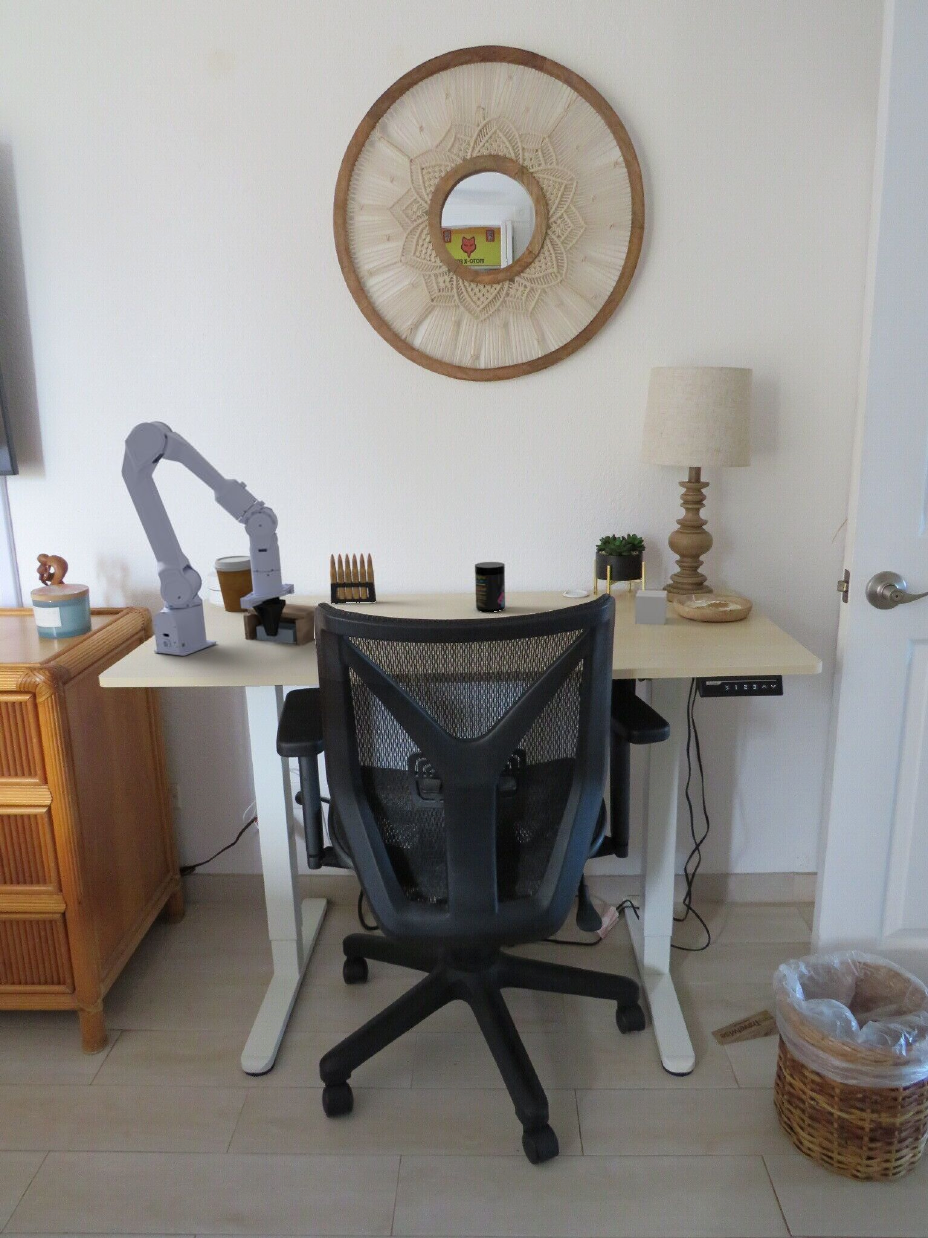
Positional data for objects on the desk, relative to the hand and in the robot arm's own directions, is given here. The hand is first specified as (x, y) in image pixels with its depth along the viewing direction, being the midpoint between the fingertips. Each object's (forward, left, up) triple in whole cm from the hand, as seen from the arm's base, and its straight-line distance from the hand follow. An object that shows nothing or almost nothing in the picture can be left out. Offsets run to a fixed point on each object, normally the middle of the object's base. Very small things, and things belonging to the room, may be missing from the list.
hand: (271, 635), depth 173 cm
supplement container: (+39, -31, -2) cm, 50 cm away
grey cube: (+41, -67, -2) cm, 79 cm away
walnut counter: (+4, 0, -1) cm, 4 cm away
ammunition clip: (+35, +3, -2) cm, 35 cm away
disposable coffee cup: (+21, +26, -2) cm, 34 cm away
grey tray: (+3, 0, -2) cm, 4 cm away
